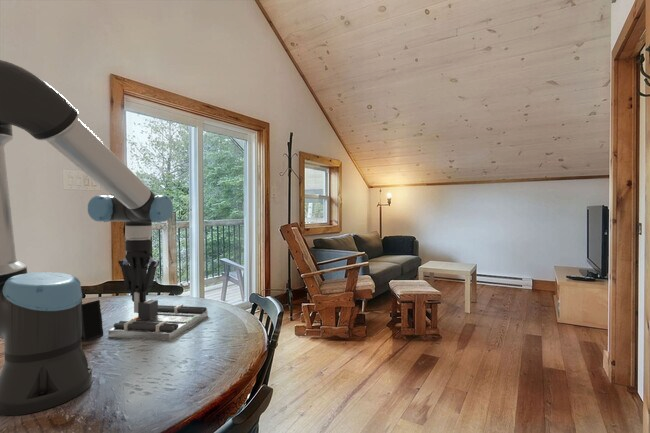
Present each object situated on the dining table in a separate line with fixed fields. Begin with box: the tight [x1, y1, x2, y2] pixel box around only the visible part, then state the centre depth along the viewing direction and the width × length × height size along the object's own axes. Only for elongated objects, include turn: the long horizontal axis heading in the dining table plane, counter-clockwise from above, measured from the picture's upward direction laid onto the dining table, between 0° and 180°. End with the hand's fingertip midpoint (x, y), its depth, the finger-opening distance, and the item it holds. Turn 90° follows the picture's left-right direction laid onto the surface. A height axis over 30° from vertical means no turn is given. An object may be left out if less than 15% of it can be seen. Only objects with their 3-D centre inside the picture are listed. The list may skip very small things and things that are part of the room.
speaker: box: [81, 299, 104, 342], centre depth 96 cm, size 8×6×10 cm
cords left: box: [113, 318, 178, 332], centre depth 96 cm, size 4×19×2 cm, turn 82°
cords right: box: [158, 303, 208, 313], centre depth 113 cm, size 4×19×2 cm, turn 83°
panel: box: [107, 309, 209, 342], centre depth 104 cm, size 22×19×2 cm
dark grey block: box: [137, 298, 159, 319], centre depth 106 cm, size 4×4×5 cm
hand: (139, 311), depth 106 cm, fingers closed
